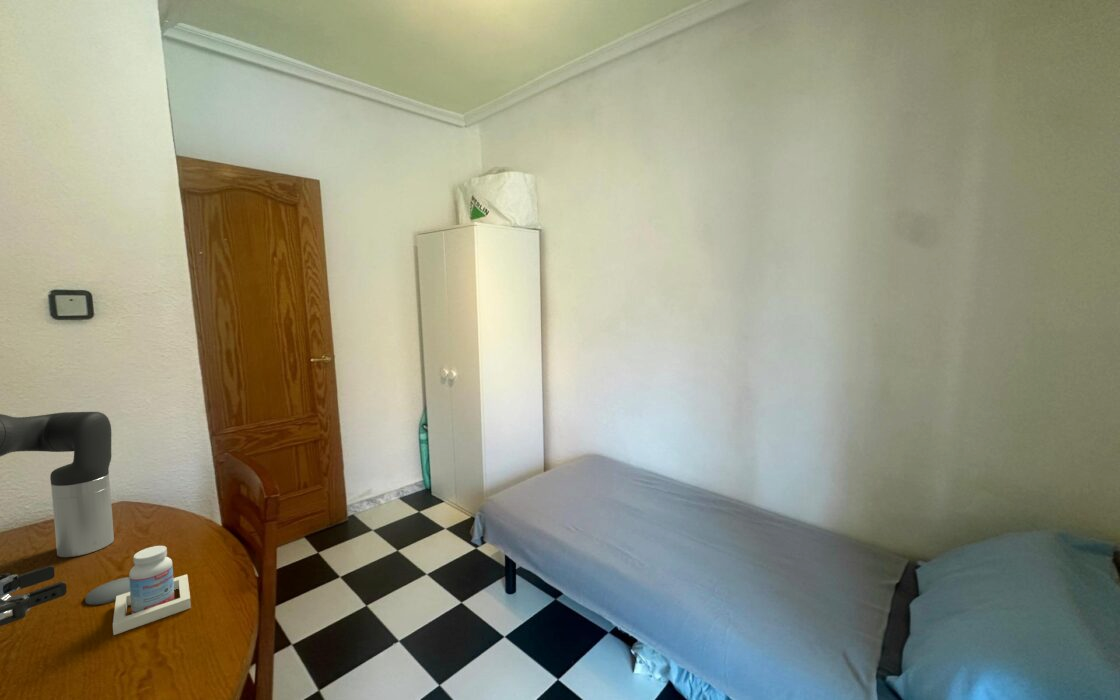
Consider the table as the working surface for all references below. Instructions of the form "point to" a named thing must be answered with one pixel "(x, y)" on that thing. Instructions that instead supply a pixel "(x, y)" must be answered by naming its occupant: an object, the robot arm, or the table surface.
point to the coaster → (108, 592)
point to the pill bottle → (151, 579)
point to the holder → (151, 614)
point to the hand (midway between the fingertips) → (59, 579)
